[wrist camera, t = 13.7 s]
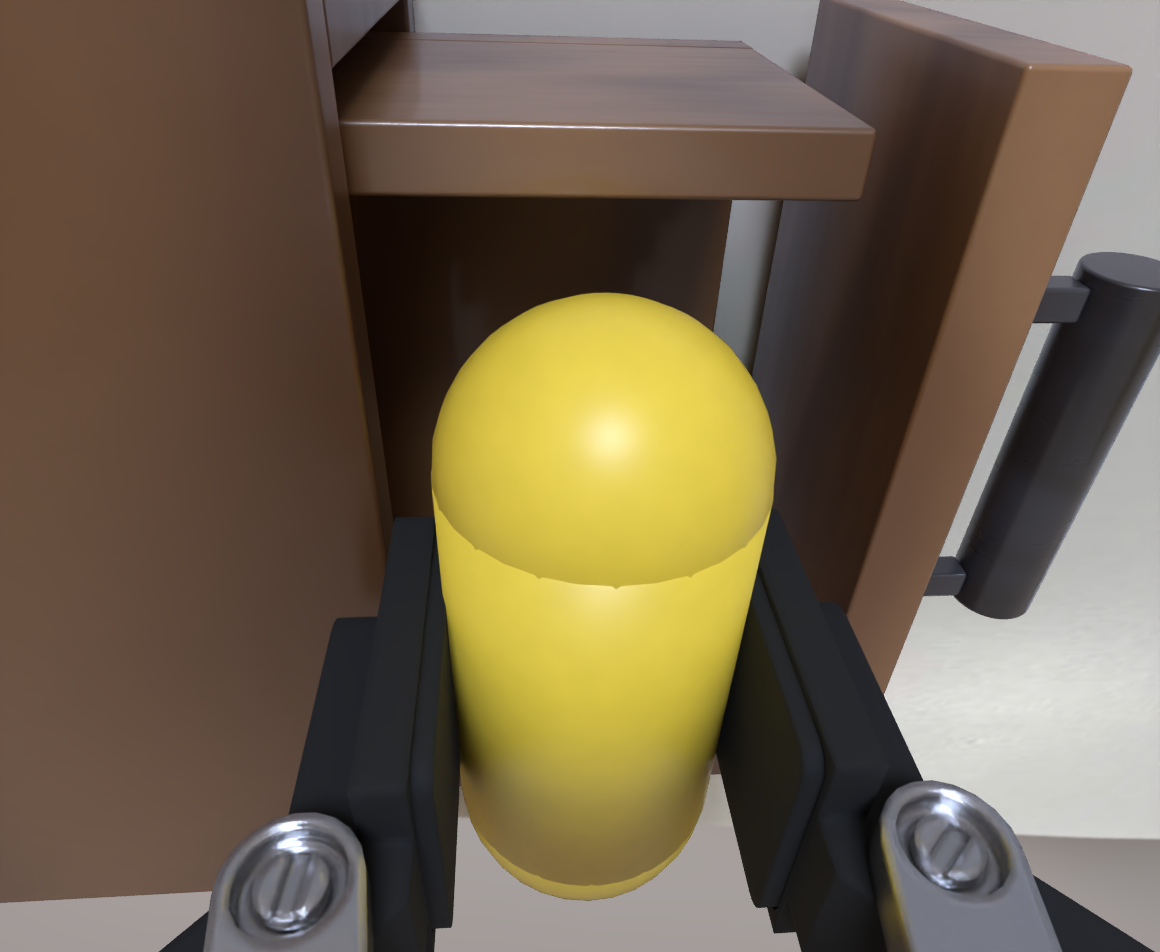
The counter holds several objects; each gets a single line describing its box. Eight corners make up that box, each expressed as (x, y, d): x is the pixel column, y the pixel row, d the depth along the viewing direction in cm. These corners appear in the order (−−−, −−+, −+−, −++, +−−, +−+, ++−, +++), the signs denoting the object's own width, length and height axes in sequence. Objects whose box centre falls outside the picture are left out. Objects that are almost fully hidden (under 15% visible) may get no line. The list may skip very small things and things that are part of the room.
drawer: (1106, 3, 14) (1487, 75, 9) (901, 565, 22) (1031, 789, 17) (-66, -34, 13) (-508, 25, 7) (166, 584, 20) (42, 837, 15)
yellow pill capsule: (552, 217, 9) (327, 331, 7) (857, 291, 8) (713, 470, 5) (547, 700, 15) (420, 862, 12) (728, 795, 13) (625, 1001, 11)
